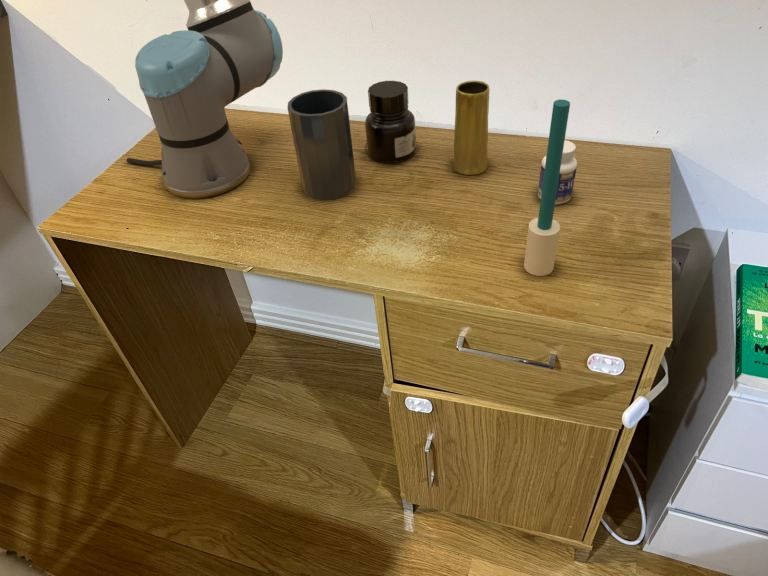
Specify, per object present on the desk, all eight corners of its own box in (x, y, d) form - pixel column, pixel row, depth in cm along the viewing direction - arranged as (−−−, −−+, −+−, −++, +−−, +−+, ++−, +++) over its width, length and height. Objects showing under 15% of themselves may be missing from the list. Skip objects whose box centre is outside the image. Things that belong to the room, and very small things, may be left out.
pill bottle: (560, 209, 92) (568, 158, 86) (531, 198, 94) (537, 148, 88) (577, 194, 94) (586, 144, 88) (548, 183, 97) (555, 134, 91)
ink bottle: (410, 166, 104) (407, 102, 96) (362, 164, 106) (355, 100, 98) (420, 140, 111) (418, 77, 103) (374, 137, 113) (369, 76, 105)
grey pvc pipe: (294, 196, 99) (277, 112, 89) (315, 168, 106) (302, 87, 96) (344, 203, 97) (333, 118, 87) (363, 174, 103) (355, 91, 93)
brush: (521, 273, 81) (541, 109, 65) (526, 255, 84) (546, 93, 68) (551, 278, 80) (578, 112, 64) (555, 260, 83) (582, 96, 67)
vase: (487, 157, 105) (491, 78, 95) (488, 175, 100) (493, 95, 91) (452, 157, 105) (453, 79, 96) (452, 176, 101) (453, 96, 91)
